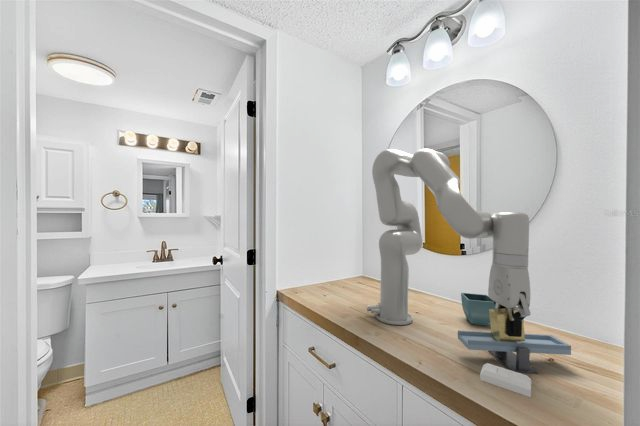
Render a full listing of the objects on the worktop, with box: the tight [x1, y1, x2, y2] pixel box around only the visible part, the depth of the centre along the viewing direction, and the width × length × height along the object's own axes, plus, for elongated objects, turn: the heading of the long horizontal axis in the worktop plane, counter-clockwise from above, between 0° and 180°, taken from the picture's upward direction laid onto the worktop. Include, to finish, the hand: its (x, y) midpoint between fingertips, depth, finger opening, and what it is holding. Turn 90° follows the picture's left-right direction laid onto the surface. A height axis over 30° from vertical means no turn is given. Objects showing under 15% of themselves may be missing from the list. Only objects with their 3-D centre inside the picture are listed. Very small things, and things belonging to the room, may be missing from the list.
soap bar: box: [479, 362, 532, 398], centre depth 60 cm, size 5×9×3 cm, turn 51°
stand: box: [487, 347, 539, 375], centre depth 69 cm, size 6×10×6 cm, turn 177°
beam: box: [457, 329, 572, 356], centre depth 69 cm, size 24×7×2 cm, turn 87°
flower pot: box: [460, 292, 495, 326], centre depth 95 cm, size 9×9×9 cm
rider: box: [489, 308, 526, 342], centre depth 69 cm, size 6×4×7 cm, turn 87°
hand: (508, 331), depth 69 cm, fingers closed on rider, 3 cm apart
